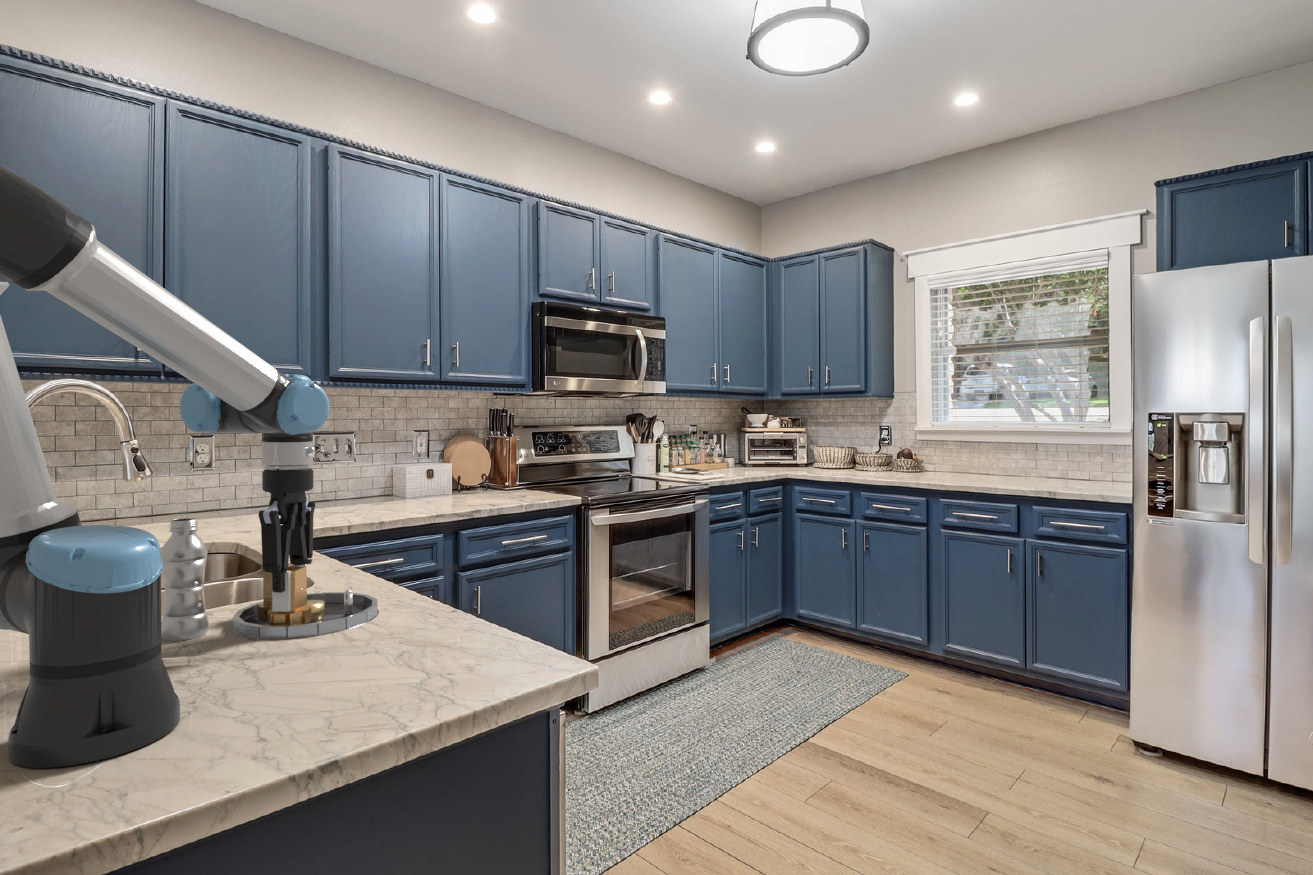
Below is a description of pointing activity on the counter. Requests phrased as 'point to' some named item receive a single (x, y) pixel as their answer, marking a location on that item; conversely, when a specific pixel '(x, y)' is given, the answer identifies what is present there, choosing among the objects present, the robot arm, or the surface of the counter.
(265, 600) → the tan square tube
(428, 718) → the counter surface
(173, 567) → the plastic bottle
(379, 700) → the counter surface
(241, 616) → the bowl
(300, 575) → the hollow wooden square post
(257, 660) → the counter surface
